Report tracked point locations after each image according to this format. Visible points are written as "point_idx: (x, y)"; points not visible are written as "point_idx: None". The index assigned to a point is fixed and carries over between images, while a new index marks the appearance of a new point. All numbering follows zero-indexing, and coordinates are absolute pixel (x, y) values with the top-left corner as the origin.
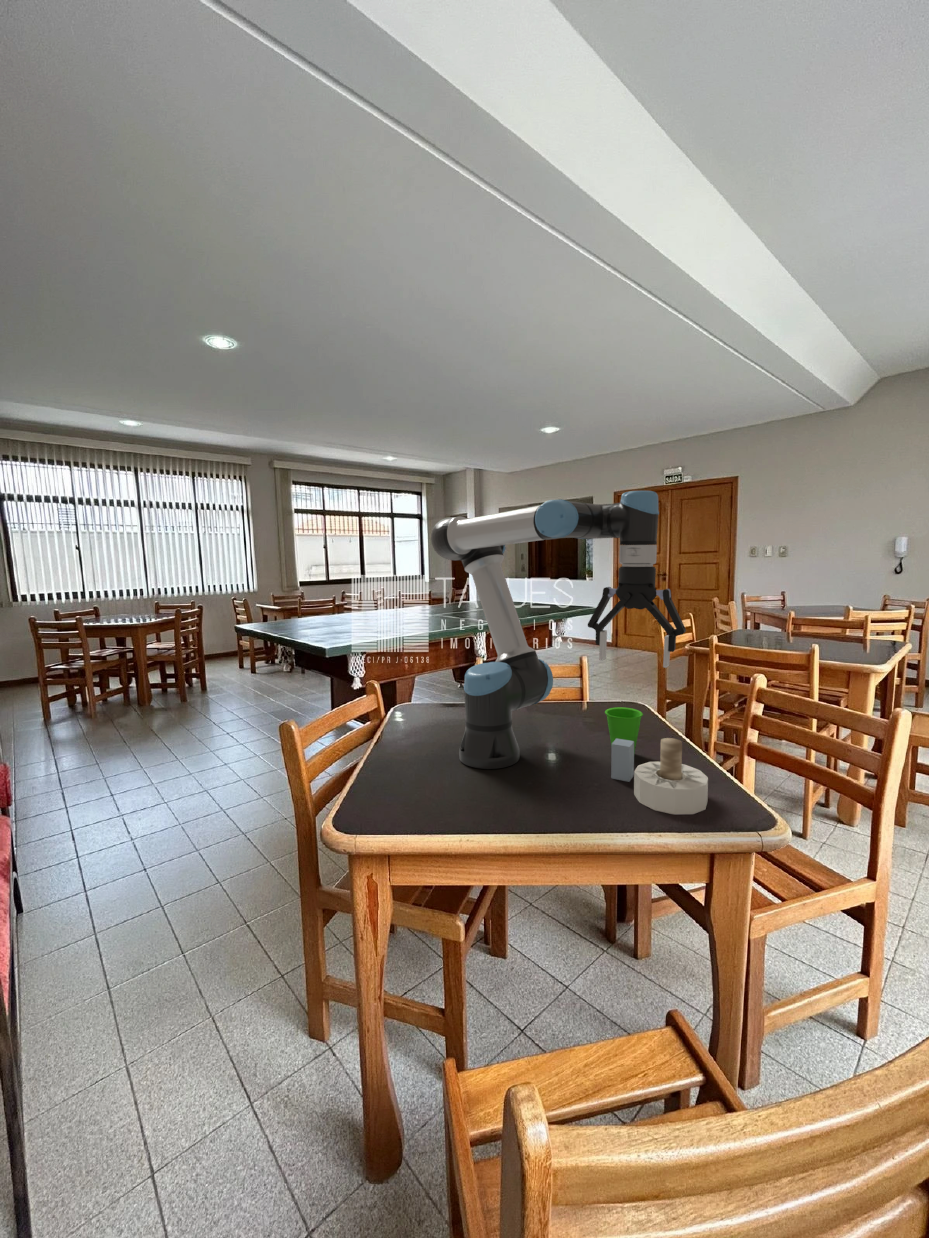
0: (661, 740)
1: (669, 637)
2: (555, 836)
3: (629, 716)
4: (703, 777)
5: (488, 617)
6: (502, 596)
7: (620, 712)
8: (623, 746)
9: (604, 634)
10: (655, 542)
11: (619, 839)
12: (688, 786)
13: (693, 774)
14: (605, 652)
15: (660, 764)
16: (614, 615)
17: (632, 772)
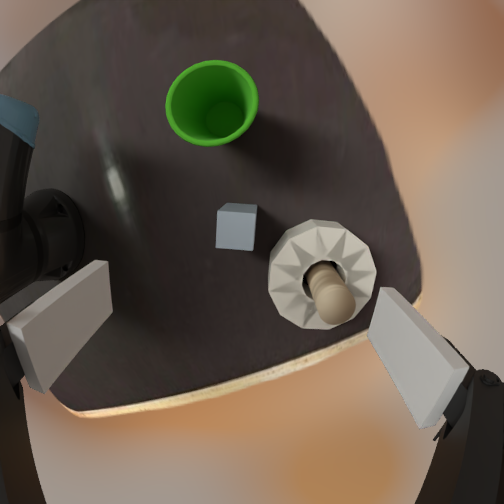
0: (319, 308)
1: (443, 410)
2: (207, 392)
3: (222, 73)
4: (370, 273)
5: None
6: None
7: (199, 72)
8: (240, 249)
9: (45, 362)
10: None
11: (266, 379)
12: None
13: (357, 267)
14: (94, 285)
15: (311, 293)
16: (31, 483)
17: (256, 215)
